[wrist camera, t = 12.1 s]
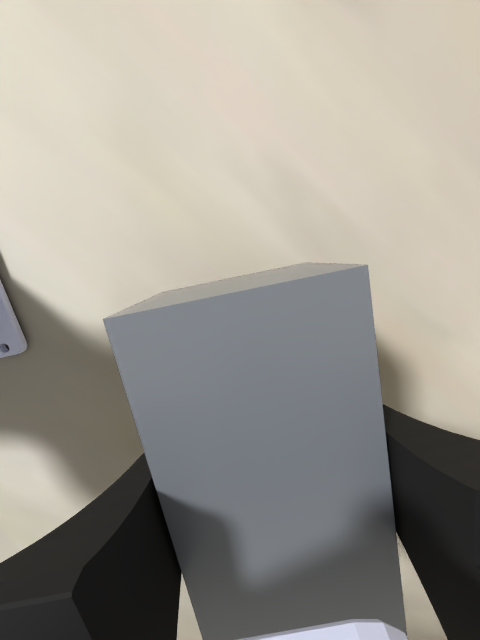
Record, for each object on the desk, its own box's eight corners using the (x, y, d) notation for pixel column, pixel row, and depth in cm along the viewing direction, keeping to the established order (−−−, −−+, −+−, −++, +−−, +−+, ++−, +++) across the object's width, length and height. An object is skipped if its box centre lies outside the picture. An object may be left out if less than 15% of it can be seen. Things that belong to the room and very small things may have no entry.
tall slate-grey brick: (220, 514, 14) (212, 670, 9) (162, 291, 12) (102, 319, 7) (340, 492, 14) (407, 636, 9) (306, 262, 12) (367, 264, 6)
